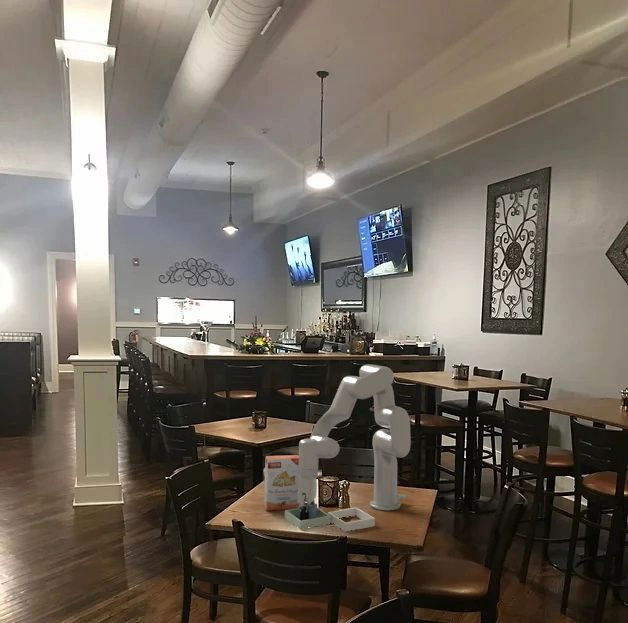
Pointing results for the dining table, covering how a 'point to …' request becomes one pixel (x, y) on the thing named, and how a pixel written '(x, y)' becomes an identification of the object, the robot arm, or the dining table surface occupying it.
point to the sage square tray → (322, 519)
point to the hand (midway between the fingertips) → (307, 518)
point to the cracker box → (281, 482)
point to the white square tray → (364, 523)
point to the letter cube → (310, 511)
